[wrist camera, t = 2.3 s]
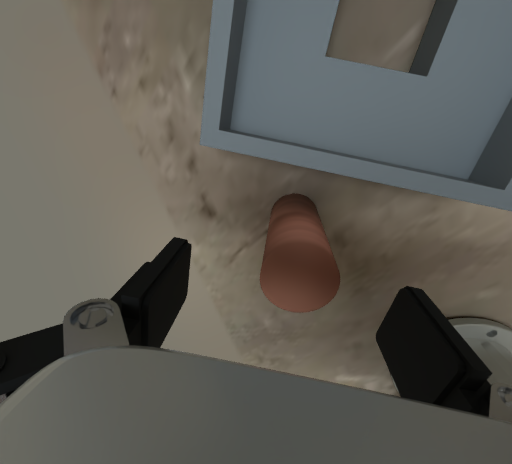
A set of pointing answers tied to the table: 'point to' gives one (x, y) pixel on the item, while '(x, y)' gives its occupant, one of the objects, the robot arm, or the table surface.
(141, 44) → the table surface
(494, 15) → the tray
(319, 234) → the peg
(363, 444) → the robot arm
